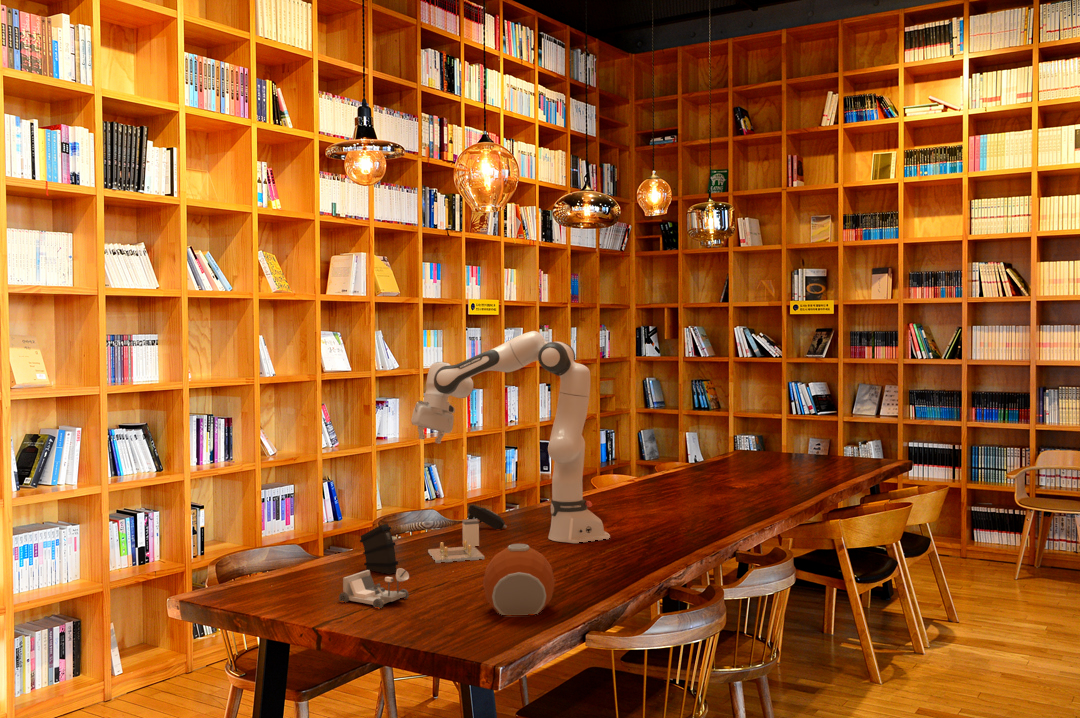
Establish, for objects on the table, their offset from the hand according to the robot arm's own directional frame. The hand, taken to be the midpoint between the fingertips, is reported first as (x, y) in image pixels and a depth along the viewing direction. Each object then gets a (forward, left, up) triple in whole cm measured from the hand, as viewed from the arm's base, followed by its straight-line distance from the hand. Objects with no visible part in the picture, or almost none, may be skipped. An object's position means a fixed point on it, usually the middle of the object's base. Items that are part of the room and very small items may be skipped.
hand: (429, 441), depth 333 cm
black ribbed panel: (+25, +48, -35) cm, 65 cm away
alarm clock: (-6, +102, -35) cm, 108 cm away
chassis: (-2, +36, -35) cm, 51 cm away
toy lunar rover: (+29, +81, -36) cm, 93 cm away
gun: (-22, -3, -35) cm, 42 cm away
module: (-10, +23, -35) cm, 43 cm away
